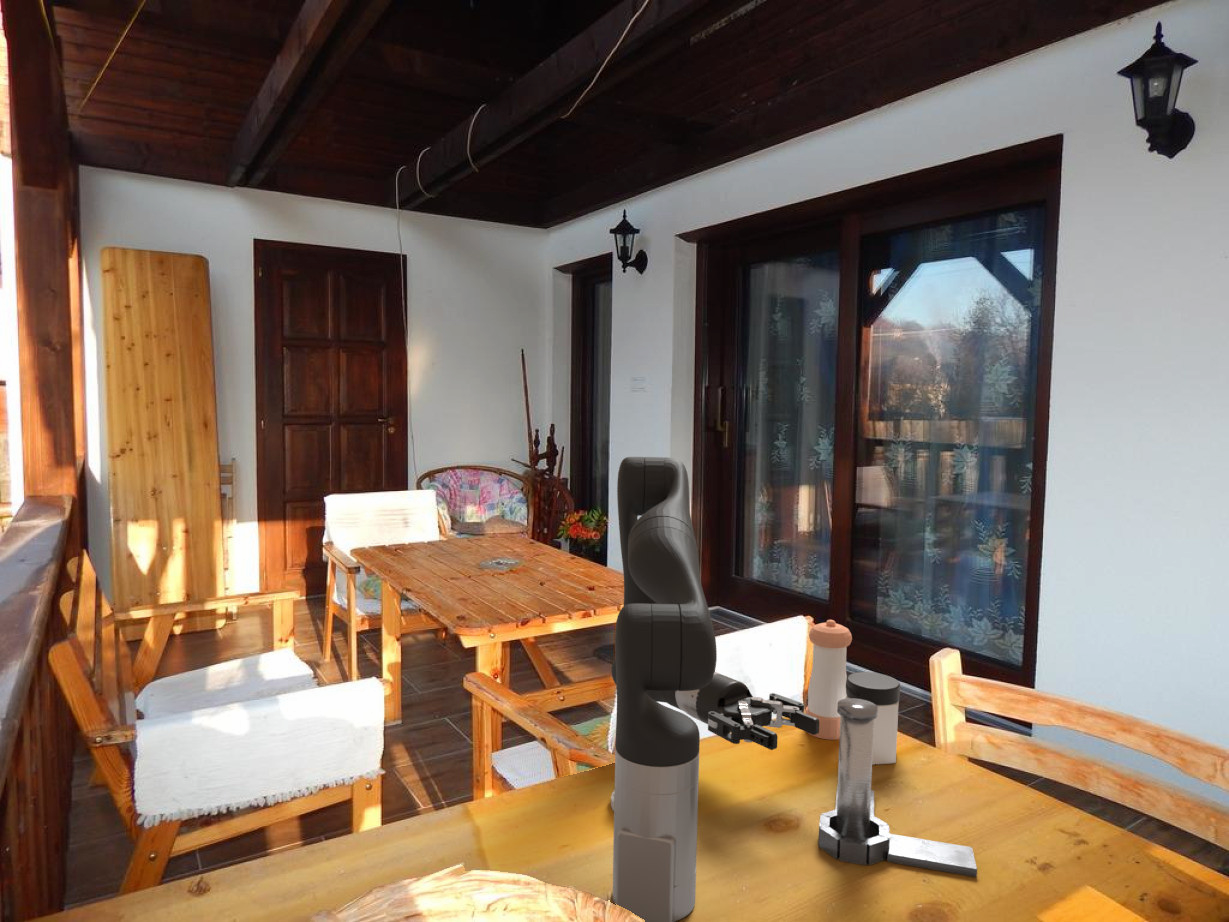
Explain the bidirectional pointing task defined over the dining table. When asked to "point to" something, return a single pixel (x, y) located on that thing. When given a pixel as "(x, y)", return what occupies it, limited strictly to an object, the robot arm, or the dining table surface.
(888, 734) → the jar
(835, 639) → the pepper shaker
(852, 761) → the pin
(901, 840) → the box end wrench
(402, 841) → the dining table surface
